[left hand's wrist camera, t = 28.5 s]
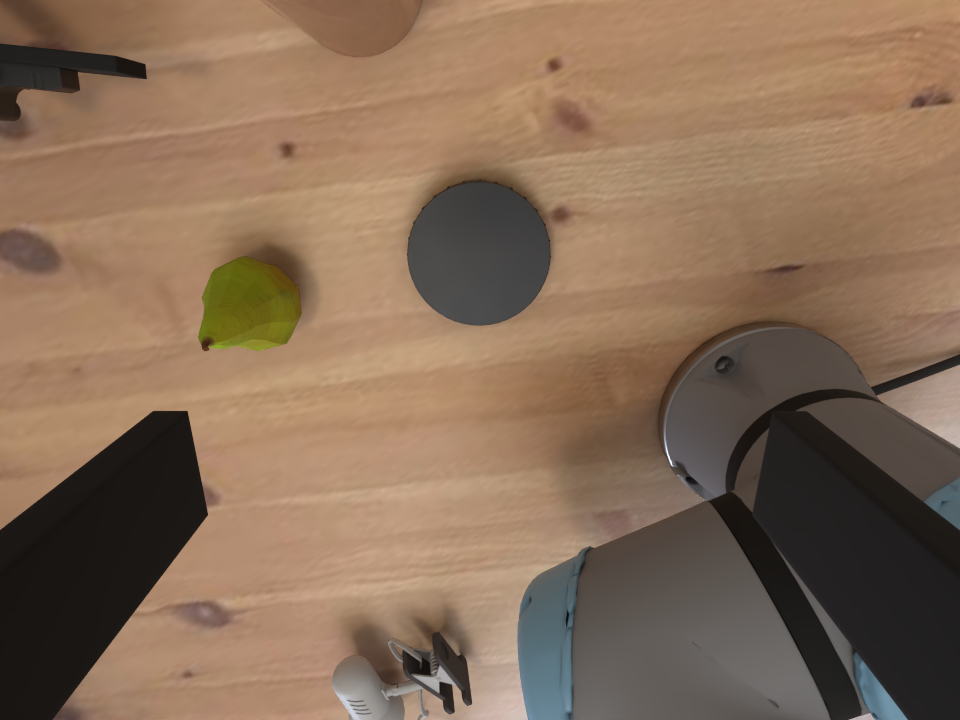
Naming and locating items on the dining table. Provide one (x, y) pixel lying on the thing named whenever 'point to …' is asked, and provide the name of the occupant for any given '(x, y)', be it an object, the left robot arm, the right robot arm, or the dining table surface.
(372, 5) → the jar
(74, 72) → the right robot arm
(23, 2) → the dining table surface
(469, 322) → the lid
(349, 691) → the clip-on lamp
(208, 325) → the fruit
